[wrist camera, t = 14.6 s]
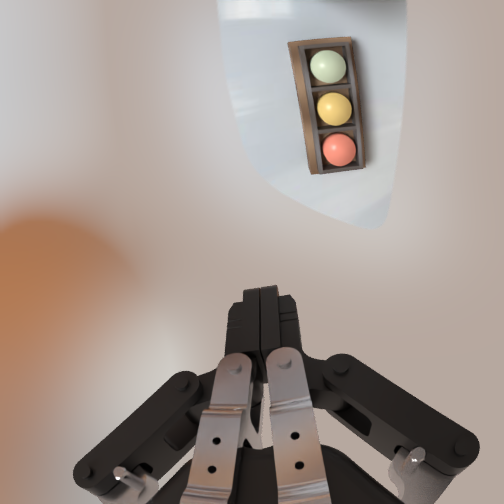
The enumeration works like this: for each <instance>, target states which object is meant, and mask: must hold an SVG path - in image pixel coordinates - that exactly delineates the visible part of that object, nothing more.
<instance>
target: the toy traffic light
mask: <svg viewBox="0 0 504 504" xmlns="http://www.w3.org/2000/svg"><path fill="white" fill-rule="evenodd" d="M288 48H289V53H290V58H291V63H292V68H293V74H294V79H295V84H296V90H297V96H298V101H299V107H300V113H301V119H302V125H303V132H304V138H305V145H306V152H307V159H308V166H309V170H310V173H311V175H312V174H326V173H334V172H341V171H349V170H357V169H363V168H365V167H366V166H365V150H364V137H363V125H362V115H361V105H360V97H359V88H358V81H357V73H356V66H355V60H354V53H353V47H352V41H351V37H337V38H323V39H312V40H303V41H294V42H288ZM323 50H330V51H334V52H336V53H338V54H339V55H341V57H342V58H343V59H344V61H345V64H346V71H345V74H344V76H343V77H342V78H341V79H340V80H339V81H337V82H334V83H326V82H322V81H320V80H318V79H317V78H315V77H314V76H313V75H312V73H311V71H310V68H309V62H310V59H311V57H312V56H313V55H314V54H315V53H317V52H319V51H323ZM330 91H333V92H337V93H339V94H341V95H343V96H345V97H346V98H347V99H348V100H349V102H350V104H351V107H352V112H351V116H350V118H349V119H348V120H347V121H346V122H345V123H344V124H341V125H337V126H334V125H330V124H327V123H326V122H324V121H323V120H322V118H321V117H320V116H319V115H318V113H317V110H316V103H317V100H318V98H319V97H320V96H321V95H322V94H324V93H326V92H330ZM332 132H342V133H344V134H346V135H347V136H348V137H349V138H350V139H351V140H352V141H353V143H354V144H355V147H356V153H355V156H354V158H353V160H352V161H351V162H350V163H348V164H347V165H344V166H336V165H333V164H331V163H330V162H329V161H328V160H327V159H326V157H325V155H324V154H323V151H322V142H323V140H324V138H325V137H326V136H327V135H328V134H330V133H332Z"/></svg>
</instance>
